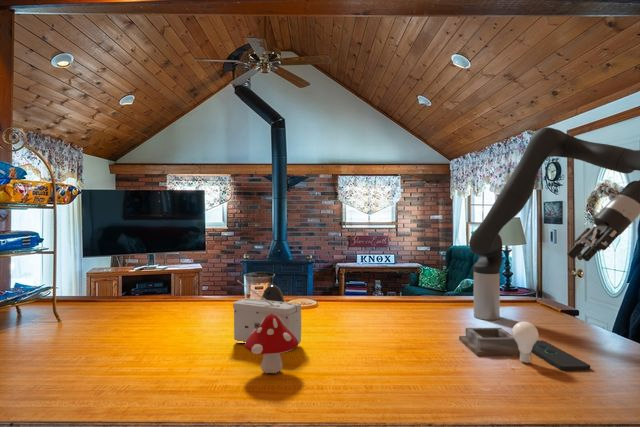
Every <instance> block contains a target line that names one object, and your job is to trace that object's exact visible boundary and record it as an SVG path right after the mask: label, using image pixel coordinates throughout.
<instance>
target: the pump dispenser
mask: <svg viewBox="0 0 640 427" xmlns="http://www.w3.org/2000/svg"><path fill="white" fill-rule="evenodd" d="M262 297H263V298H265V299H266V300H268V301H278V302H285V298H284V295H283V293H282V290H281V289H280V288H279V286H277V285H273V284H270V285H269V286H267V287H266V288H265V289H264V290H263V293H262ZM260 300H263V299H262V298H260Z"/></svg>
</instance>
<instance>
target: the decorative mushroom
mask: <svg viewBox="0 0 640 427" xmlns="http://www.w3.org/2000/svg"><path fill="white" fill-rule="evenodd" d="M243 345H244V348H245V349H246V350H247V351H248V352H250V353H252V354H254V355H263V357H262V361H261V364H260V368H261V371H262V372H263V373H264V372H265V374H267V373H275V374H278V373H279V371H280V372H281V371H282V369H283V365H284V364H283V360H282V356H281V354H284V353H287V352H290V351H292V350H294V349H295V348H297V347H298V345H299V344H298V340H297V338H296V337H295V336H294V335H293V334H292V333H291V332H290V331H289V330H288V329H287V328H286V327H285V326H284V325H283V322H282V320H281V318H280V317H278V316H276V315H273V314H270V315H268V316H266V317H265V318H264V319H263V321H262V322H261V324H260V326H259V327H258V328H257V329H255V330H254V331H253V332H252V333H251V335H250V336H249V338H248V339H247V341H246V343H245V344H243ZM277 372H278V373H277Z"/></svg>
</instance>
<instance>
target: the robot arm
mask: <svg viewBox="0 0 640 427" xmlns="http://www.w3.org/2000/svg"><path fill="white" fill-rule="evenodd" d="M552 157H557V158H567V159H572V160H573V159H574V160H578V161H581V162H585V163H588V164H590V165H592V166H596V167H598V168H599V167H600V168H602V169H606V170H609V171H614V172H617V173H621V174H626V175H627V174H631V173H633V172H635V171H640V149H638V150H637V149H631V148H626V147H622V146H618V145H613V144H608V143H601V142H592V141H588V140H584V139H581V138H578V137H575V136H573V135H570V134H568V133H566V132H564V131H562V130H560V129H556V128H553V127H547V126H546V127H545V126H544V127H542V128H540V129H538V130H536V131H535V132H534V134H533V135H531V138H530V140H529V141H528V144H527V145H526V147H525V150H524V152H523V153H522V156H521V158H520V160H519V162H518V163H517V165H516V167H515V168H514V170H513V172H512V173H511V175H510V177H509V178H508V180H507V182H506V183H505V184H504V186H503V188H502V189H501V191H500V193H499V194H498V196H497V198H496V200H495V201H494V203H493V204H492V206H491V207H490V209H489V211H488V213H487V215H486V216H485V217H484V218H483V220H482V222H480V223H479V226H478V227H477V228H476V229H475V231H474V232H473V233H472V234H471V236H470V239H469V244H468V245H469V248H470V249H469V250H470V251H471V252H472V253H473V254H475V255H477V256H478V259H477V261H476V262H474V264H473V317H475V318H476V319H479V320H485V321H495V320H499V319H500V313H501V312H500V311H501V310H500V309H501V308H500V306H501V305H500V304H501V303H500V302H501V301H500V299H501V296H500V295H501V294H500V293H501V291H500V288H501V287H500V282H501V281H500V269H501V266H502V264H503V263H502V262H503V241H502V236H500V234H499V233H500V232H501V230H502V229H503V228H504V227H505V226H506V225H507V224H508V223H509V222H510V221H511V220H512V219H514V218H515V217H516V216H517V215H518V214H519V213H520V212H521V211H522V210H523V208H525V206H526V204H527V203H528V201H529V200H530V198H531V196H532V194H533V192H534V189H535V184H536V180H537V177H538V176H537V175H538V173H539V171H540V170H541V168H542V166H543V164H544V163H545V162H546V160H547V159H548V158H552ZM639 215H640V179H639V180H633V181H632V180H631V181H630V183H627V184H626V185H625V187H624V188H623V189H621V190H620V191H619V193H618V194H617V195H616V196H615V197H613V198H612V199H610V200H609V202H608V203H606V205H605V206H604V207H603V208H602V209H601V210H600V211H599V212H598V213H597V215H595V216H594V218H593V222H594V223H595V226H594V227H592V228H590V227H587V228H586V229H585V230H584V231H583V232H582V233H581V234H580V235H579V236H578V237H577V238H576V239H574V241H573V243H574V245H573V247H572V248H571V249H569V251H568V252H567V253H566V254H567V256H568V257H569V258H571V259H575V258H577V257H578V256H579V255H580V258H581V260H583V261H585V262H589V261H590V260H591V259H592V258H593V257H594V256H595V255H596V254H597V252H601V251H606V250H607V249H608V247H610V245H611V244H612V243H614V241H615V240H616V239H617V238H618V237H619V236H620V235H622V234H623V233H624V232H625V231H626V229H627V228H628V227H630V226H631V224H633V222H634V221H635V220H636V219H637V218H638V217H639ZM584 249H585V250H584ZM583 250H584V251H583ZM580 253H581V254H580Z"/></svg>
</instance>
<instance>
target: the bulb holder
mask: <svg viewBox="0 0 640 427" xmlns="http://www.w3.org/2000/svg"><path fill="white" fill-rule="evenodd" d="M458 336H459V337H458V340H459V341H460V342H461V343H462V344H463V345H464V346H465V347H466V348H468V349H469V350H470V351H471V352H472V353H473V354H474V355H475V356H476V357H497V356H498V357H507V356H509V357H510V356H513V357H517V356H518V357H520V351H519V349H518V345H517V343H516V341H515V340H514V338H513V335H512V333H510V332H508V331H507V330H504V329H503V328H501V327H465V335H458Z"/></svg>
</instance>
